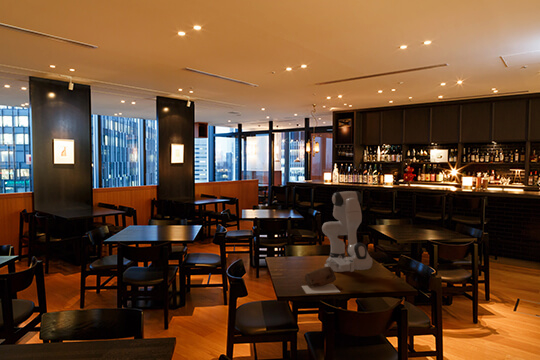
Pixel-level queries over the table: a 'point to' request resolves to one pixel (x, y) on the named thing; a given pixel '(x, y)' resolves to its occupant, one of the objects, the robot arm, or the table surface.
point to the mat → (320, 289)
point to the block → (320, 277)
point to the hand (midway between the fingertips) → (329, 264)
